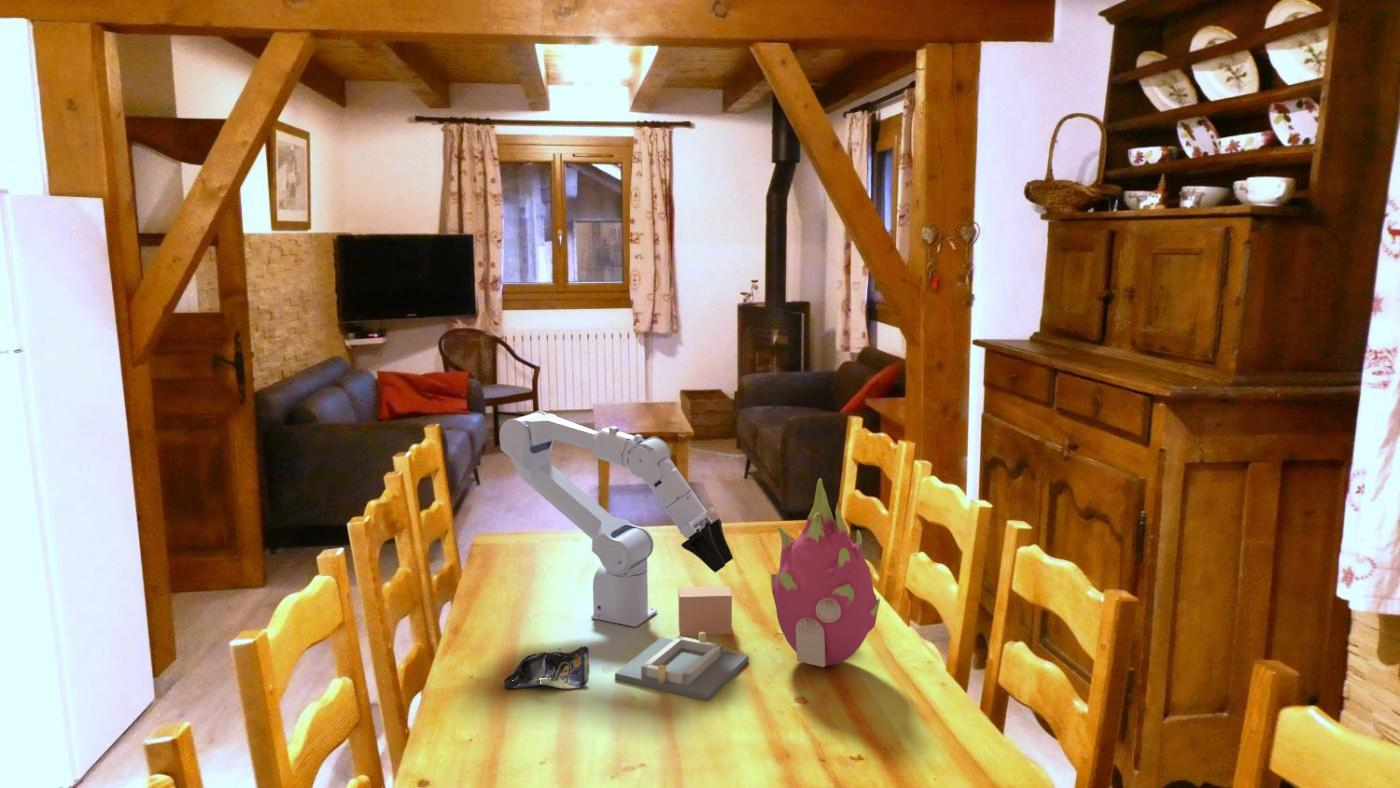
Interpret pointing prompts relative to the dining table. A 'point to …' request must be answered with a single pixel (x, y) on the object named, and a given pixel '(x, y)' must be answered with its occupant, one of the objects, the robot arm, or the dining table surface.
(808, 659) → the pink dragon fruit
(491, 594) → the dining table surface
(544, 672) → the snack package
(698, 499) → the robot arm
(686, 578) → the dining table surface
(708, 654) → the socket plate
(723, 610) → the block
